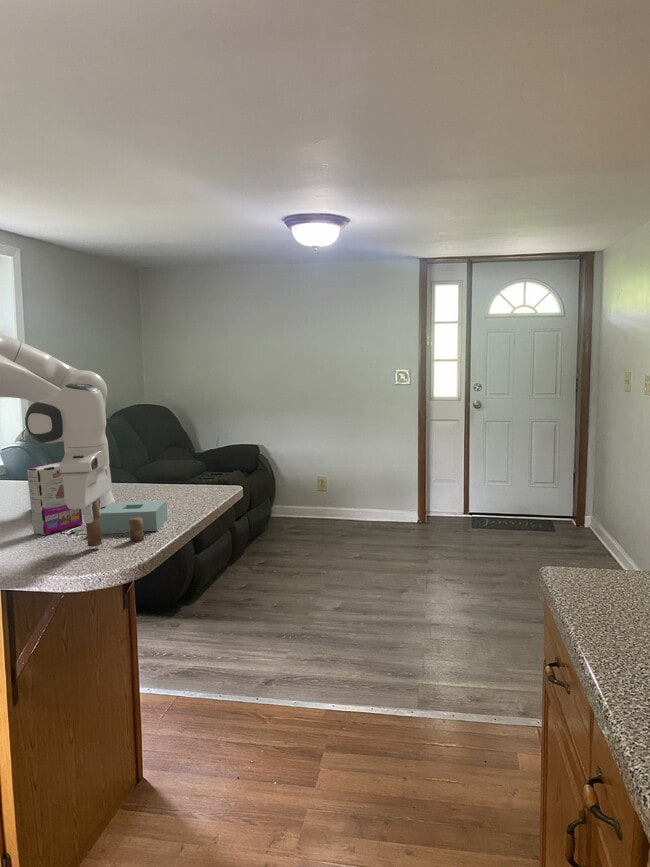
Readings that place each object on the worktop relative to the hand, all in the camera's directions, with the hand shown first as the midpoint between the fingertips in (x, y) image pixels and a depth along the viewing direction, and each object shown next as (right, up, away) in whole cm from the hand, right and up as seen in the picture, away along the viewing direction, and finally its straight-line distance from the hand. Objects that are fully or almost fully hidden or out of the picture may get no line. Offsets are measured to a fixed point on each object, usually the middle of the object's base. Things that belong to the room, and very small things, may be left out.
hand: (92, 519), depth 145 cm
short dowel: (+8, -6, +7) cm, 12 cm away
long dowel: (0, -6, +1) cm, 6 cm away
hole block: (+3, -4, +20) cm, 20 cm away
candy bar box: (-15, -5, +19) cm, 25 cm away
